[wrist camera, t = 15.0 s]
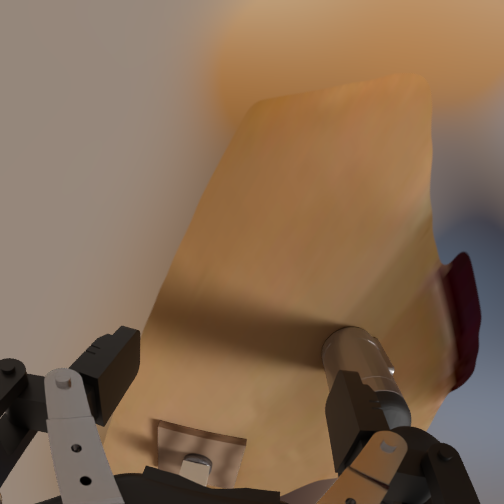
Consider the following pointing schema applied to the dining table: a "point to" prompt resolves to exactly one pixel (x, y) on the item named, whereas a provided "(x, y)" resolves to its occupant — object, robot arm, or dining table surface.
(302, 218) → the dining table surface
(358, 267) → the dining table surface
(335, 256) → the dining table surface
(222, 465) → the walnut block
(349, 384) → the robot arm
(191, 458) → the dark grey cylinder
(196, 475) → the cream rectangular block
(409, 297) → the dining table surface
